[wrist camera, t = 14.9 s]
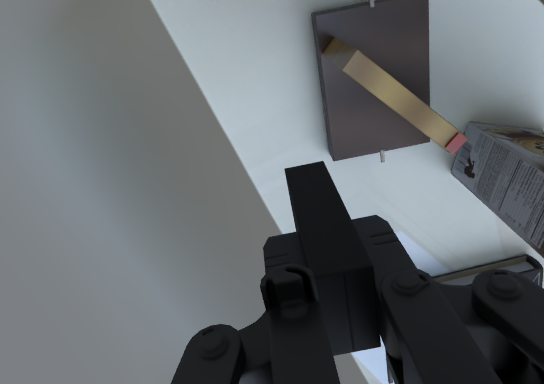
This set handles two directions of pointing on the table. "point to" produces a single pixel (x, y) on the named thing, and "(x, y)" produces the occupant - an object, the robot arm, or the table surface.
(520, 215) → the coffee box
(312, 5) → the table surface
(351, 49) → the tan flat piece
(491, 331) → the robot arm
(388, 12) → the lock plate
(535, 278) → the book
